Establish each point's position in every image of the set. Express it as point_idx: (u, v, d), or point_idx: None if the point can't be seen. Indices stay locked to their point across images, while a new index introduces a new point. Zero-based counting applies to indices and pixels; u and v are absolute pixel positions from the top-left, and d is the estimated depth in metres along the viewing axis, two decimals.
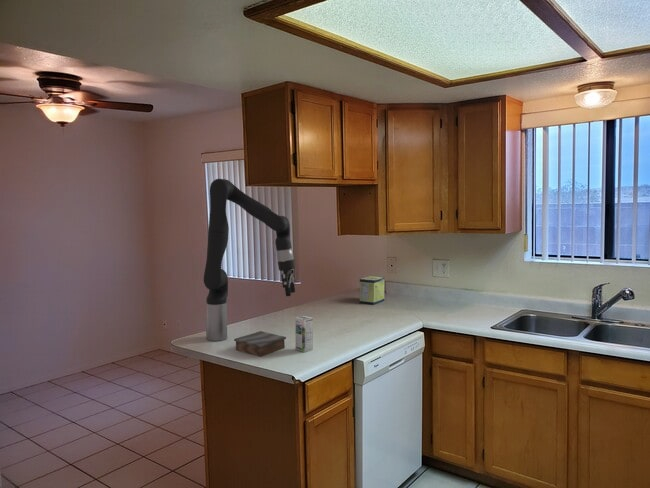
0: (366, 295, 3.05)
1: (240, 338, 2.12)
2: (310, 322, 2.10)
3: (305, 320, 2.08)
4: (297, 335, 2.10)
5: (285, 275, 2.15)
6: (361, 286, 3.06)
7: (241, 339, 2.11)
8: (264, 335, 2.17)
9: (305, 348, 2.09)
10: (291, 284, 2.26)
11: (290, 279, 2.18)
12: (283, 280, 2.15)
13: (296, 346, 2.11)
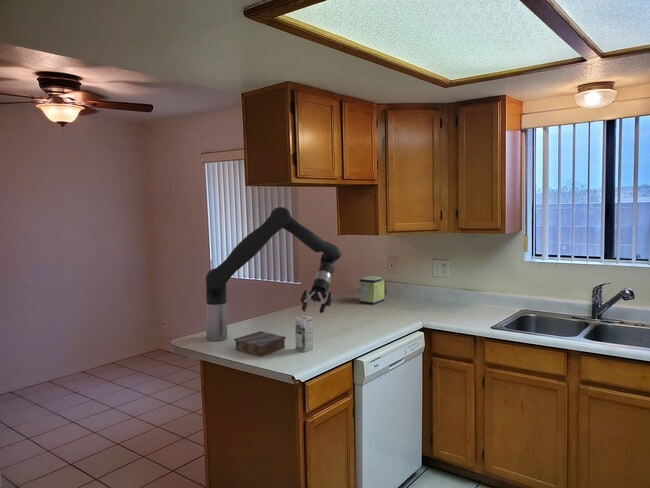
0: (366, 295, 3.05)
1: (240, 338, 2.12)
2: (310, 322, 2.10)
3: (305, 320, 2.08)
4: (297, 335, 2.10)
5: None
6: (361, 286, 3.06)
7: (241, 339, 2.11)
8: (264, 335, 2.17)
9: (305, 348, 2.09)
10: (306, 303, 2.22)
11: None
12: (330, 298, 2.20)
13: (296, 346, 2.11)
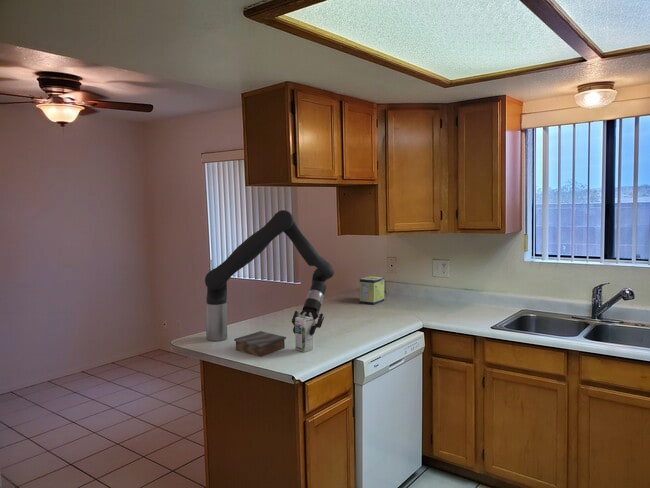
0: (366, 295, 3.05)
1: (240, 338, 2.12)
2: (310, 322, 2.10)
3: (305, 320, 2.08)
4: (297, 335, 2.10)
5: (323, 317, 2.13)
6: (361, 286, 3.06)
7: (241, 339, 2.11)
8: (264, 335, 2.17)
9: (305, 348, 2.09)
10: None
11: None
12: (321, 319, 2.11)
13: (296, 346, 2.11)
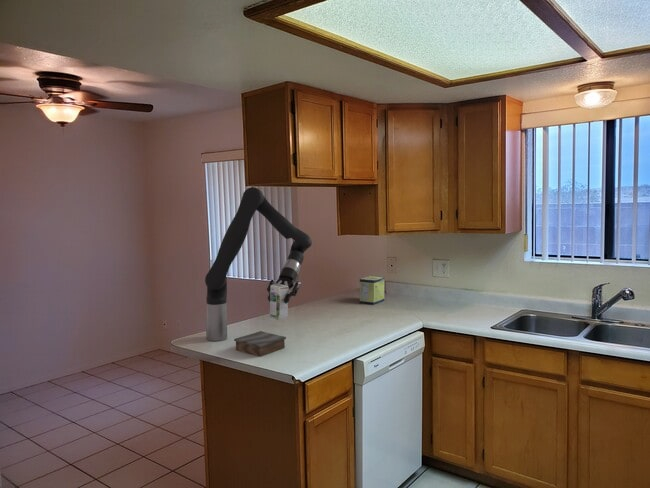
0: (366, 295, 3.05)
1: (240, 338, 2.12)
2: (285, 290, 2.09)
3: (280, 287, 2.07)
4: (272, 303, 2.09)
5: (299, 285, 2.13)
6: (361, 286, 3.06)
7: (241, 339, 2.11)
8: (264, 335, 2.17)
9: (279, 316, 2.08)
10: None
11: (290, 290, 2.14)
12: (296, 288, 2.11)
13: (271, 314, 2.11)
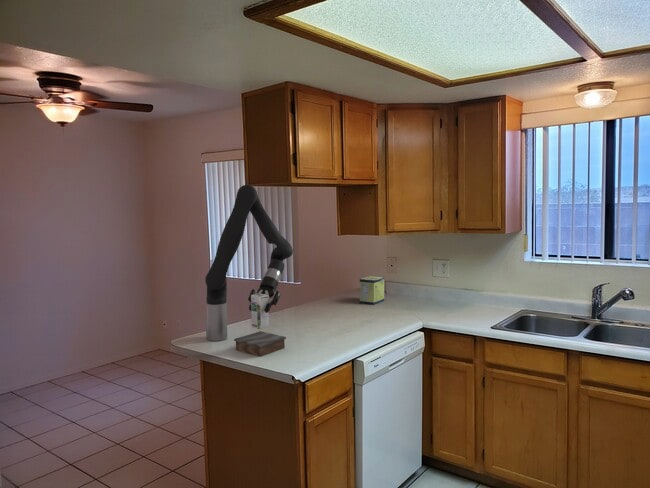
0: (366, 295, 3.05)
1: (240, 338, 2.12)
2: (265, 299, 2.10)
3: (260, 297, 2.08)
4: (253, 312, 2.11)
5: (279, 294, 2.14)
6: (361, 286, 3.06)
7: (241, 339, 2.11)
8: (264, 335, 2.17)
9: (260, 325, 2.09)
10: None
11: (271, 299, 2.15)
12: (277, 297, 2.12)
13: (252, 323, 2.12)
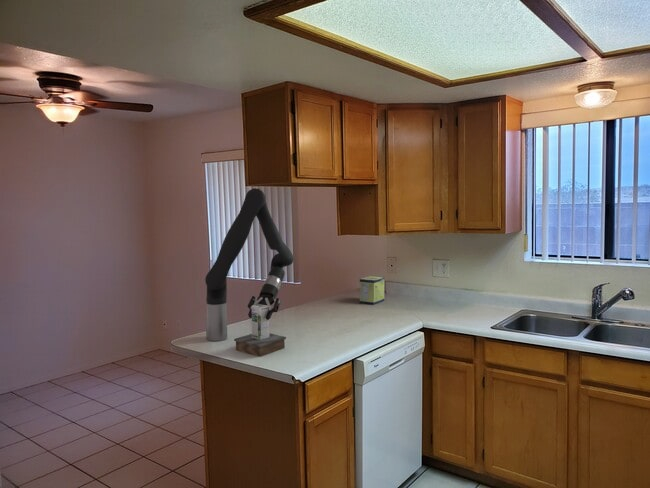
0: (366, 295, 3.05)
1: (240, 338, 2.12)
2: (266, 310, 2.11)
3: (261, 308, 2.09)
4: (254, 323, 2.11)
5: (280, 301, 2.14)
6: (361, 286, 3.06)
7: (241, 339, 2.11)
8: None
9: (261, 336, 2.10)
10: None
11: (271, 307, 2.15)
12: (277, 304, 2.12)
13: (252, 334, 2.12)
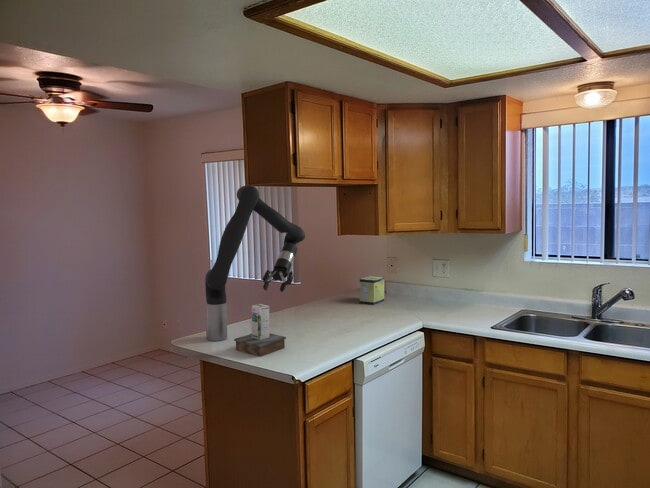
0: (366, 295, 3.05)
1: (240, 338, 2.12)
2: (266, 310, 2.11)
3: (261, 308, 2.09)
4: (254, 323, 2.11)
5: (293, 275, 2.25)
6: (361, 286, 3.06)
7: (241, 339, 2.11)
8: None
9: (261, 336, 2.10)
10: (268, 282, 2.26)
11: (285, 280, 2.26)
12: (291, 277, 2.23)
13: (252, 334, 2.12)
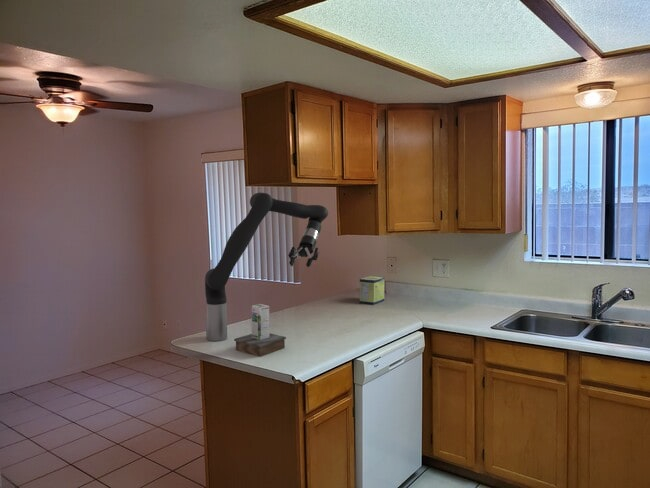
0: (366, 295, 3.05)
1: (240, 338, 2.12)
2: (266, 310, 2.11)
3: (261, 308, 2.09)
4: (254, 323, 2.11)
5: (318, 251, 2.31)
6: (361, 286, 3.06)
7: (241, 339, 2.11)
8: None
9: (261, 336, 2.10)
10: (294, 258, 2.31)
11: None
12: (317, 253, 2.29)
13: (252, 334, 2.12)
